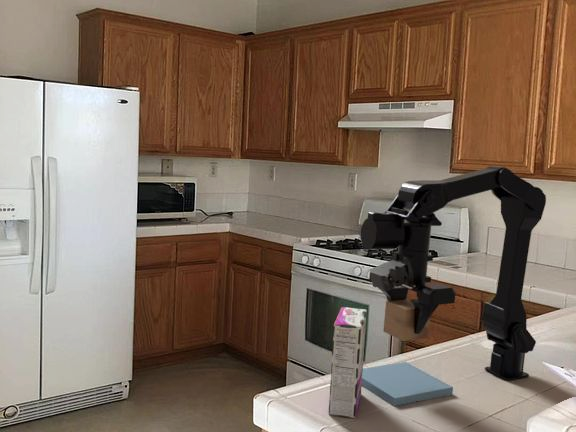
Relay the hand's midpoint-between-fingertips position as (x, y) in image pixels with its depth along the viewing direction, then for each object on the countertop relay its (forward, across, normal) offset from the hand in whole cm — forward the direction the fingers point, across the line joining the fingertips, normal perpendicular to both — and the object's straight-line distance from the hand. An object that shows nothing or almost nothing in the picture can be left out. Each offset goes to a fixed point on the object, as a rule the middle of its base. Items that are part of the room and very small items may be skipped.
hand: (406, 328), depth 122 cm
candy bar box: (+12, +3, -15) cm, 19 cm away
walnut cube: (+1, 0, 0) cm, 1 cm away
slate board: (+12, 0, 0) cm, 12 cm away
